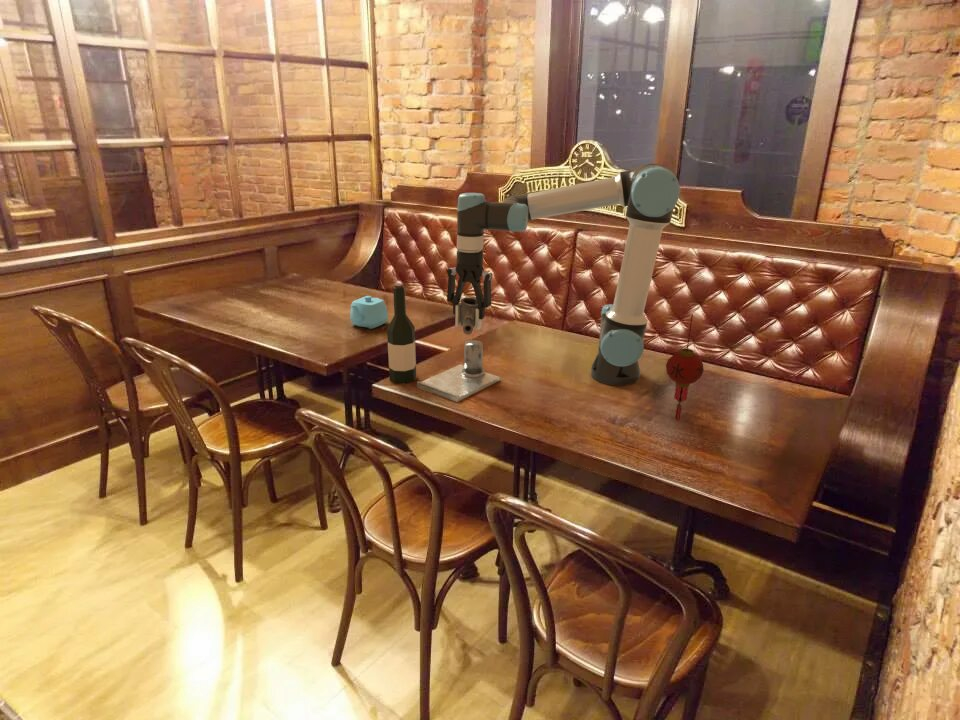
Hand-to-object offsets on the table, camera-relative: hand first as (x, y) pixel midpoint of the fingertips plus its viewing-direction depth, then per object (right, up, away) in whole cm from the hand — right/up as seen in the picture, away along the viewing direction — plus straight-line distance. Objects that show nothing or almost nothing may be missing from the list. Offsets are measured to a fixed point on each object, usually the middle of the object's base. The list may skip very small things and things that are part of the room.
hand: (468, 327), depth 183 cm
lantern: (+57, -26, -16) cm, 65 cm away
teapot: (-40, +3, +56) cm, 69 cm away
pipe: (0, -1, -1) cm, 1 cm away
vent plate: (-3, -17, +5) cm, 18 cm away
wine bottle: (-20, -16, +9) cm, 27 cm away
